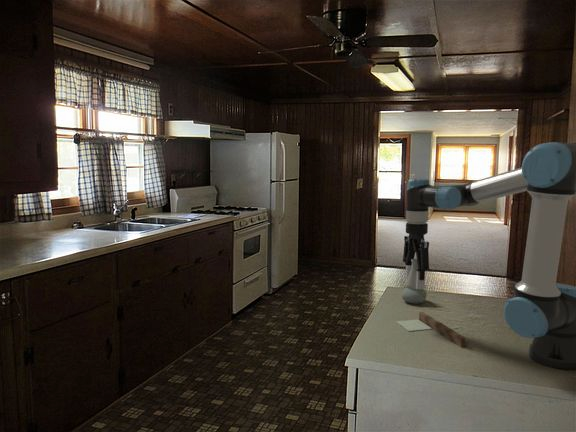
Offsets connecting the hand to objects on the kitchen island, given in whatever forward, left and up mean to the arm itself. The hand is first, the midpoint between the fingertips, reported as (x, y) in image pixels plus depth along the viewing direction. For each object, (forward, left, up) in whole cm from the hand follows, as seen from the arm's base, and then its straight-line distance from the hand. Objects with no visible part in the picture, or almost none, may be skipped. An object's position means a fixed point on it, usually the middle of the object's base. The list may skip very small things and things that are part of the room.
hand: (414, 285), depth 177 cm
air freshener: (+26, -14, -15) cm, 34 cm away
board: (0, 0, -15) cm, 15 cm away
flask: (0, 0, -1) cm, 1 cm away
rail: (-9, -6, -15) cm, 18 cm away
